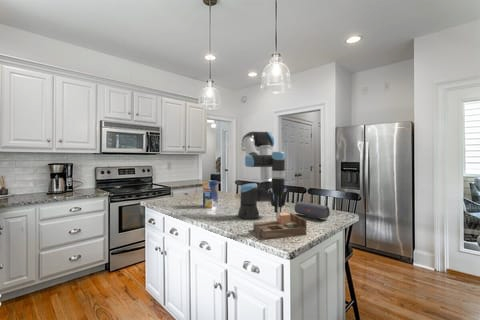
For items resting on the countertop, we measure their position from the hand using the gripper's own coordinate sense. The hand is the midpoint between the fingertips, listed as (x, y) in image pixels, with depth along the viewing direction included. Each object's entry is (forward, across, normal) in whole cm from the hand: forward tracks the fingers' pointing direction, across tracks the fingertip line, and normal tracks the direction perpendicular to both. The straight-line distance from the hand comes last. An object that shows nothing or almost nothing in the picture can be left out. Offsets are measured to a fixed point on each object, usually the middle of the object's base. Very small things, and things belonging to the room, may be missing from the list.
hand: (277, 217), depth 139 cm
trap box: (+7, -1, -4) cm, 8 cm away
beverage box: (+7, -27, +73) cm, 78 cm away
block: (+3, +4, 0) cm, 5 cm away
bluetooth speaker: (+7, +36, +18) cm, 41 cm away
